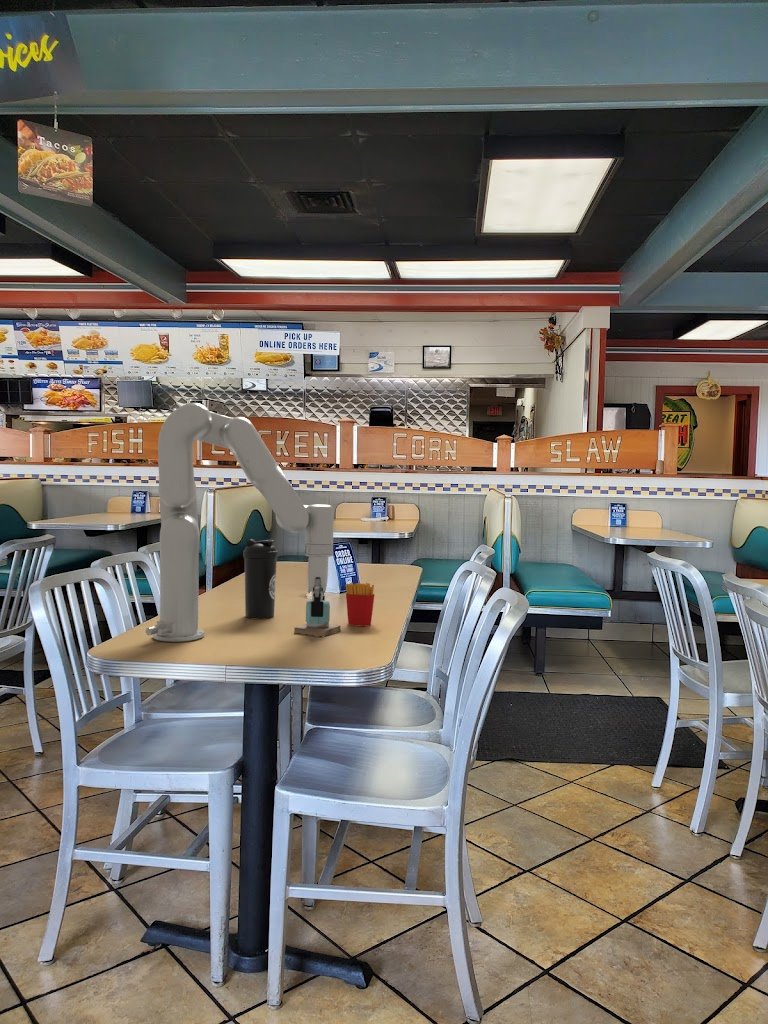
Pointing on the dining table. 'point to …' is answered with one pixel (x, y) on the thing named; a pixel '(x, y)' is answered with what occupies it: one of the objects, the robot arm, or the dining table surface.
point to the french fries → (359, 603)
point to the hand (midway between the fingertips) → (317, 613)
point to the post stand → (317, 629)
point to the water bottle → (260, 578)
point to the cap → (318, 619)
